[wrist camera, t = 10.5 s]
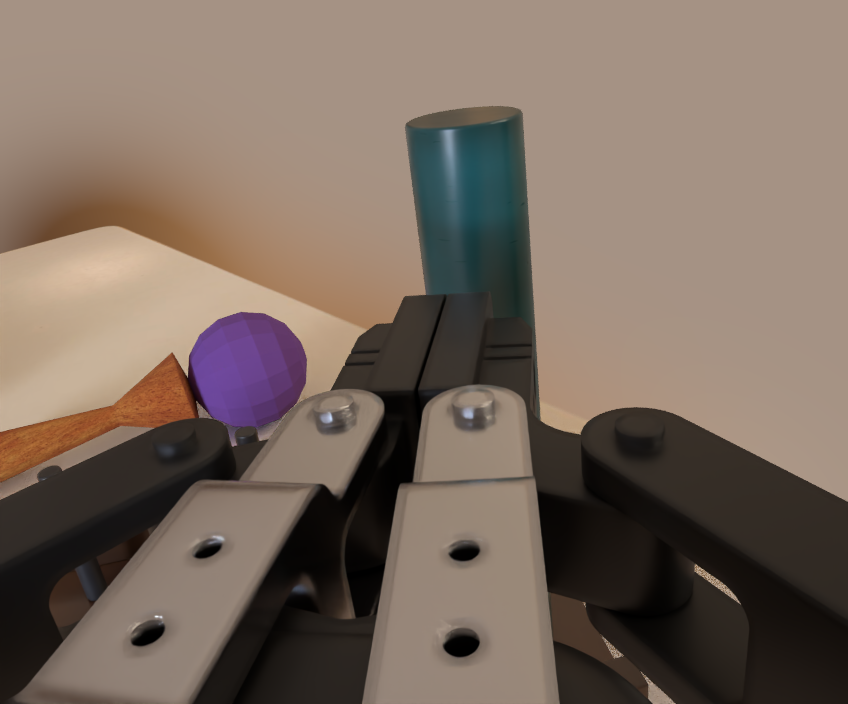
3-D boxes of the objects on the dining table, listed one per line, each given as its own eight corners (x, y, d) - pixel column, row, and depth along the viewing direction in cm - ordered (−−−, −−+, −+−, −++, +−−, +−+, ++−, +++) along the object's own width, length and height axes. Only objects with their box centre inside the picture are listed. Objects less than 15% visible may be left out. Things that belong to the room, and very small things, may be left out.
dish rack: (507, 486, 30) (471, 73, 23) (648, 751, 19) (658, 119, 12) (37, 591, 27) (-155, 164, 21) (-107, 962, 17) (-606, 323, 10)
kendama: (-118, 418, 36) (276, 291, 41) (-64, 524, 38) (308, 388, 43) (-167, 458, 31) (295, 304, 36) (-101, 579, 32) (331, 415, 38)
